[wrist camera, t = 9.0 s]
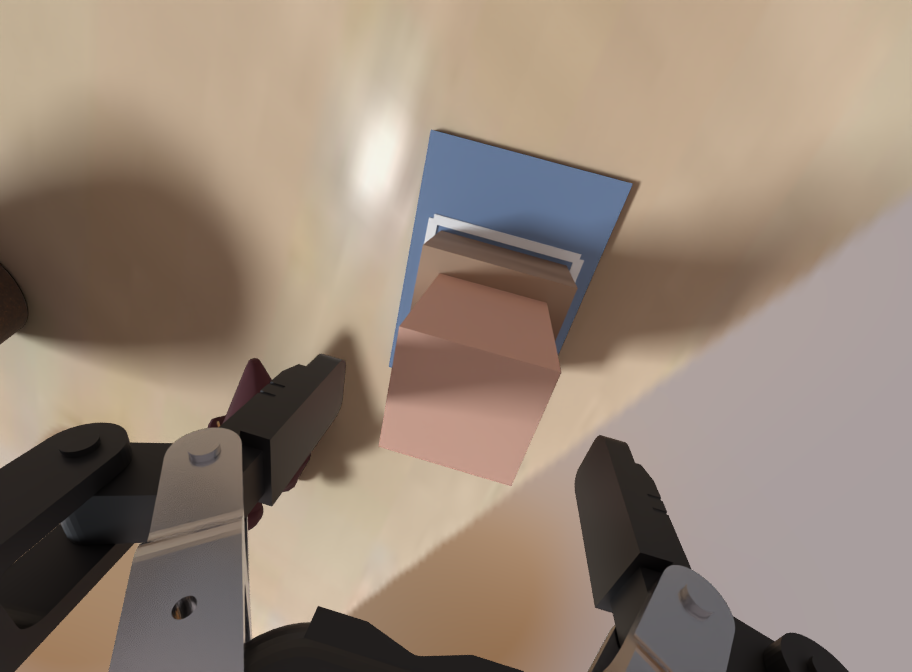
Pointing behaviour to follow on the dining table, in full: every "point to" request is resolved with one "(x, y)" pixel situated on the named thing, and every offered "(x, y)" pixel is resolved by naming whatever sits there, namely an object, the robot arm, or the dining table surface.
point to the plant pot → (10, 306)
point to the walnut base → (496, 272)
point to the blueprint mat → (513, 210)
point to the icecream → (247, 388)
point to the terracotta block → (470, 378)
